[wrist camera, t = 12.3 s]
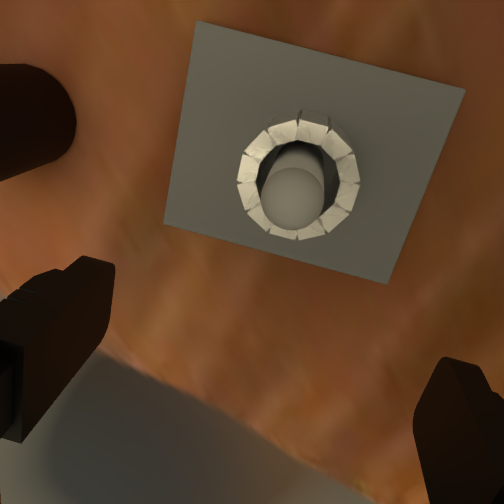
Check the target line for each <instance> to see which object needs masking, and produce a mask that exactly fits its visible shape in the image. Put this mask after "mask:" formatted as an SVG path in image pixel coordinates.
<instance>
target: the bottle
mask: <svg viewBox="0 0 504 504" xmlns="http://www.w3.org/2000/svg"><path fill="white" fill-rule="evenodd" d="M74 129H75V119H74V113H73V107H72V105H71V103H70V101H69V98H68V96H67V94H66V92H65V91H64V90H63V88H62V87H61V86H60V85H59V84H58V82H57V81H56V80H55V79H54V78H53V77H51V76H50V75H48V74H47V73H46V72H44V71H43V70H41V69H39V68H36V67H33V66H30V65H27V64H0V182H1V181H3V180H6V179H8V178H11V177H13V176H16V175H19V174H21V173H24V172H26V171H29V170H31V169H34V168H37V167H39V166H42V165H44V164H47V163H50V162H52V161H55V160H57V159H58V158H59V157H60V156H61V155H62V154H64V153H65V152H66V151H67V149H68V147H69V145H70V143H71V141H72V139H73V136H74Z"/></svg>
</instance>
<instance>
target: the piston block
mask: <svg viewBox="0 0 504 504" xmlns="http://www.w3.org/2000/svg"><path fill="white" fill-rule="evenodd" d="M465 91H466V89H462V88H458V87H454V86H450V85H447V84H443V83H439V82H435V81H431V80H427V79H423V78H419V77H415V76H412V75H408V74H404V73H400V72H396V71H392V70H388V69H384V68H380V67H377V66H373V65H369V64H365V63H361V62H357V61H353V60H349V59H345V58H341V57H338V56H334V55H330V54H326V53H322V52H318V51H314V50H310V49H306V48H303V47H299V46H295V45H291V44H287V43H283V42H279V41H275V40H271V39H268V38H264V37H260V36H256V35H252V34H248V33H244V32H240V31H236V30H233V29H229V28H225V27H221V26H217V25H213V24H209V23H205V22H201V21H198V20H196V26H195V32H194V38H193V44H192V50H191V56H190V62H189V68H188V74H187V81H186V87H185V93H184V99H183V105H182V111H181V117H180V123H179V129H178V135H177V142H176V148H175V154H174V160H173V166H172V172H171V178H170V184H169V190H168V196H167V203H166V209H165V215H164V221H163V224H166V225H170V226H173V227H177V228H181V229H184V230H188V231H192V232H195V233H199V234H202V235H206V236H210V237H213V238H217V239H221V240H224V241H228V242H232V243H235V244H239V245H243V246H246V247H250V248H254V249H257V250H261V251H265V252H268V253H272V254H276V255H279V256H283V257H287V258H290V259H294V260H298V261H301V262H305V263H309V264H312V265H316V266H320V267H323V268H327V269H331V270H334V271H338V272H342V273H345V274H349V275H353V276H356V277H360V278H364V279H367V280H371V281H375V282H378V283H382V284H386V285H387V284H388V281H389V279H390V276H391V274H392V271H393V269H394V266H395V264H396V262H397V259H398V257H399V254H400V252H401V249H402V247H403V244H404V242H405V239H406V237H407V234H408V232H409V229H410V227H411V225H412V222H413V220H414V217H415V215H416V212H417V210H418V207H419V205H420V202H421V200H422V197H423V195H424V192H425V190H426V188H427V185H428V183H429V180H430V178H431V175H432V173H433V170H434V168H435V165H436V163H437V160H438V158H439V155H440V153H441V151H442V148H443V146H444V143H445V141H446V138H447V136H448V133H449V131H450V128H451V126H452V123H453V121H454V118H455V116H456V114H457V111H458V109H459V106H460V104H461V101H462V99H463V96H464V94H465ZM299 109H300V112H301V114H302V111H303V109H305V110H308V111H312V112H316V113H320V114H324V115H327V117H328V119H329V118H330V117H331V118H332V119H333V120H334V121H335V123H336V124H337V125H338V126H339V127H340V128H341V129H342V130H343V131H344V132H345V133H346V134H347V135H348V138H349V139H350V142H351V145H352V148H353V151H354V154H355V159H356V163H357V168H358V172H359V177H360V181H359V183H360V187H359V190H358V193H357V196H356V199H355V202H354V205H353V208H352V211H349V215H348V216H347V217H346V218H345V219H344V220H342V221H341V222H340V223H339V224H338V225H337V226H336V227H335V228H333V229H332V230H331V231H330V232H329V233H328V232H327V231H326V230H325V235H321V236H316V237H312V238H308V239H303V240H299V239H298V235H297V236H296V239H295V240H292V239H288V238H284V237H281V236H277V235H273V234H269V233H270V229H271V228H269V229H268V230H267V231H265V230H264V229H263V228H262V227H261V226H260V225H259V224H257V223H256V222H255V221H254V220H253V219H252V218H251V217H250V216H249V215H248V214H247V212H248V210H249V209H248V210H245V209H244V206H243V203H242V200H241V197H240V193H239V190H238V187H237V184H238V181H237V177H238V172H239V168H240V163H241V159H242V154H243V153H244V152H245V149H246V148H247V147H248V146H249V144H250V143H251V142H252V141H253V140H254V138H255V137H256V136H257V135H258V134H259V133H260V132H261V131H262V129H263V128H264V127H265V126H266V125H267V124H268V123H269V122H270V121H271V120H272V119H273V118H275V117H276V116H279V115H282V114H285V113H289V112H292V111H296V110H299ZM265 164H266V168H267V171H268V177H267V179H266V181H265V184H264V186H263V188H262V192H261V206H262V209H263V212H264V214H265V216H266V217H267V218H268V220H269V221H270V222H271V223H273V224H274V225H275V226H277V227H279V228H281V229H285V230H300V229H303V228H305V227H307V226H309V225H311V224H312V223H313V222H314V221H315V220H316V219H317V218H318V217H319V215H320V213H321V211H322V209H323V205H324V188H325V187H326V186H327V185H328V184H329V183H331V182H332V180H333V177H334V173H335V170H336V167H337V165H336V161H335V160H334V159H333V158H332V157H331V156H330V155H329V154H328V153H327V152H326V151H325V150H324V149H323V148H322V147H321V146H320V145H316V144H312V143H309V142H305V141H301V140H295V141H291V142H287V143H284V144H280V145H277V146H275V147H274V148H273V149H272V150H271V151H270V152H269V153H268V154H267V158H266V162H265Z"/></svg>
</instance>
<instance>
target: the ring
mask: <svg viewBox="0 0 504 504" xmlns="http://www.w3.org/2000/svg"><path fill="white" fill-rule="evenodd" d="M295 140H301V141H305V142H309V143H312V144H316V145H320V146H321V147H322V148H323V149H324V150H325V151H326V152H327V153H328V154H329V155H330V156H331V157H332V158H333V159H334V160H335V161H336V165H337V167H336V170H335V173H334V177H333V180H332V182H331V183H329V184H328V185H327V186H326V187H325V188H324V205H323V209H322V211H321V213H320V215H319V217H318V218H317V219H316V220H315V221H314V222H313V223H312V224H311V225H309V226H307V227H305V228H303V229H300V230H285V229H281V228H279V227H277V226H275V225H274V224H273V223H271V222H270V221H269V220H268V218H267V217H266V216H265V214H264V212H263V209H262V206H261V192H262V188H263V186H264V184H265V181H266V179H267V177H268V171H267V168H266V164H265V162H266V158H267V154H268V153H269V152H270V151H271V150H272V149H273V148H274V147H275V146H277V145H280V144H284V143H287V142H291V141H295ZM237 181H238V184H237V187H238V190H239V193H240V197H241V200H242V203H243V206H244V209H245V210H248V209H249V210H248V212H247V214H248V215H249V216H250V217H251V218H252V219H253V220H254V221H255V222H256V223H257V224H259V225H260V226H261V227H262V228H263V229H264V230H265V231H267V230H268V229H269V228H271V229H270V233H269V234H273V235H277V236H281V237H284V238H288V239H292V240H295V239H296V236H297V235H298V239H299V240H303V239H308V238H312V237H316V236H321V235H325V230H326V231H327V232H328V233H329V232H330V231H331V230H332V229H333V228H335V227H336V226H337V225H338V224H339V223H340V222H341V221H342V220H344V219H345V218H346V217H347V216H348V215H349V211H352V208H353V205H354V202H355V199H356V196H357V193H358V190H359V187H360V183H359V181H360V177H359V172H358V168H357V163H356V159H355V154H354V151H353V148H352V145H351V142H350V139H349V138H348V135H347V134H346V133H345V132H344V131H343V130H342V129H341V128H340V127H339V126H338V125H337V124H336V123H335V121H334V120H333V119H332V118H331V117H330V118H329V119H328V117H327V115H324V114H320V113H316V112H312V111H308V110H305V109H303V111H302V114H301V112H300V109H299V110H296V111H292V112H289V113H285V114H282V115H279V116H276V117H275V118H273V119H272V120H271V121H270V122H269V123H268V124H267V125H266V126H265V127H264V128H263V129H262V131H261V132H260V133H259V134H258V135H257V136H256V137H255V138H254V140H253V141H252V142H251V143H250V144H249V146H248V147H247V148H246V149H245V152H244V153H243V154H242V159H241V163H240V168H239V172H238V177H237Z"/></svg>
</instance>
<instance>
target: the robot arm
mask: <svg viewBox="0 0 504 504" xmlns="http://www.w3.org/2000/svg"><path fill="white" fill-rule="evenodd" d="M114 280H115V265H114V264H113V263H110V262H106V261H102V260H99V259H95V258H91V257H88V256H81V257H79V258H78V259H77V260H76V261H74V262H73V263H72V264H71V265H70V266H68V267H67V268H66V269H65V270H63V271H62V270H58V269H53V270H50V271H47V272H44V273H41V274H39V275H36V276H34V277H32V278H31V279H30V280H28V281H27V282H26V283H24V284H23V285H22V286H20V288H19V290H18V289H16V290H15V291H14V292H13V293H11V294H10V295H9V296H8V297H7V299H3V300H2V301H1V302H0V438H4V439H7V440H11V441H14V442H18V443H22V442H23V441H24V439H25V438H26V437H27V436H28V434H29V433H30V431H32V429H33V428H34V427H35V425H36V424H37V423H38V422H39V420H40V419H41V418H42V416H43V415H44V414H45V413H46V411H47V410H48V409H49V408H50V406H51V405H52V404H53V402H54V401H55V400H56V399H57V397H58V396H59V395H60V394H61V392H62V391H63V390H64V388H65V387H66V386H67V385H68V383H69V382H70V381H71V379H72V378H73V377H74V376H75V374H76V373H77V372H78V370H79V369H80V368H81V367H82V365H83V364H84V363H85V362H86V360H87V359H88V358H89V357H90V355H91V354H92V353H93V351H94V350H95V349H96V348H97V346H98V345H99V344H100V342H101V341H102V339H103V337H104V335H105V333H106V330H107V328H108V324H109V320H110V313H111V305H112V297H113V288H114ZM413 434H414V439H415V443H416V447H417V451H418V456H419V460H420V464H421V468H422V472H423V477H424V481H425V485H426V489H427V493H428V498H429V502H430V504H504V399H503V398H502V397H501V396H500V395H499V394H498V393H495V392H492V390H491V388H490V386H489V384H488V382H487V380H486V378H485V376H484V374H483V372H482V370H481V368H480V367H479V366H477V365H474V364H471V363H467V362H464V361H460V360H456V359H453V358H449V357H443V358H441V359H440V360H439V362H438V364H437V365H436V367H435V369H434V371H433V373H432V375H431V377H430V379H429V381H428V384H427V386H426V388H425V390H424V392H423V394H422V396H421V398H420V400H419V402H418V404H417V406H416V409H415V412H414V417H413ZM0 504H1V495H0Z"/></svg>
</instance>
